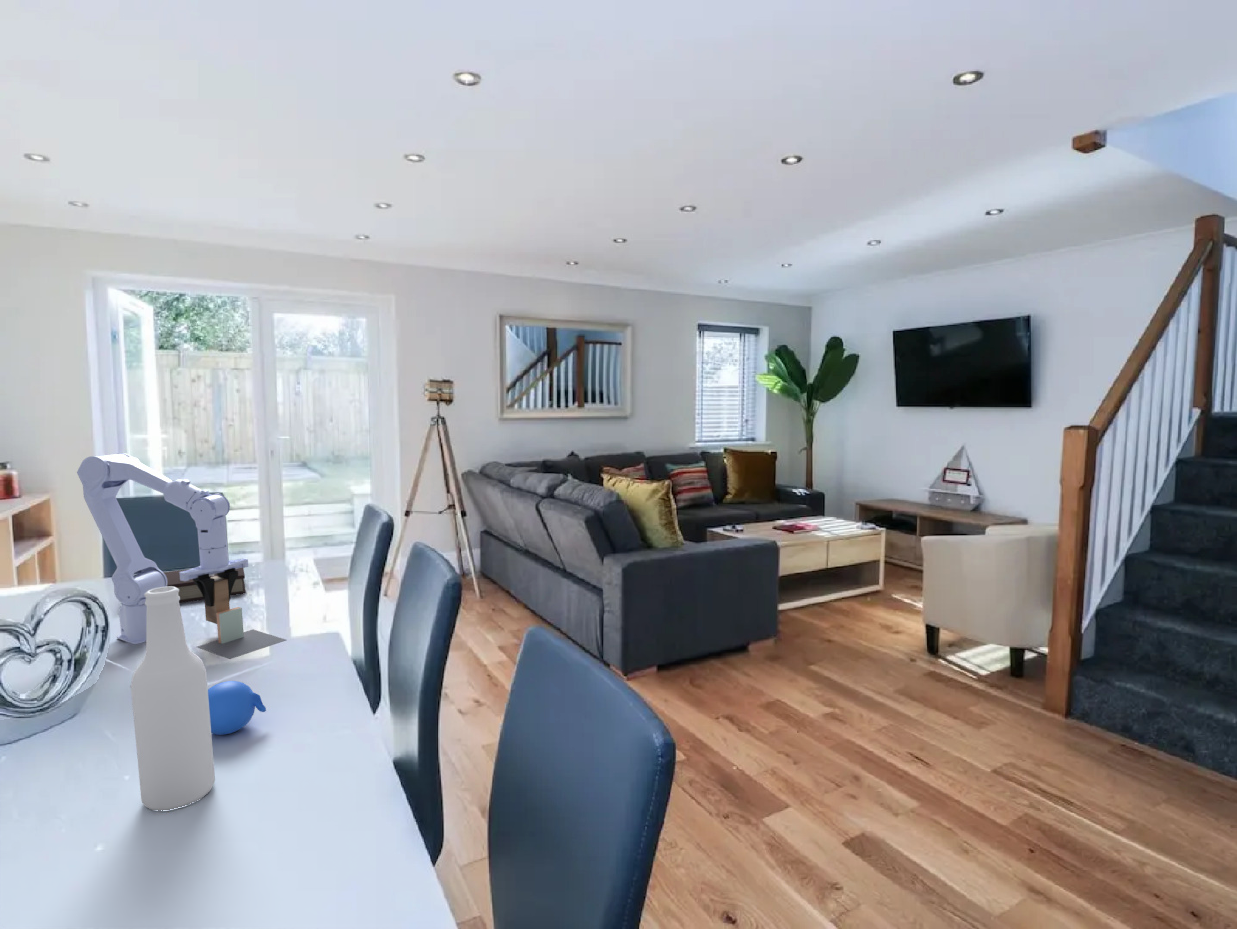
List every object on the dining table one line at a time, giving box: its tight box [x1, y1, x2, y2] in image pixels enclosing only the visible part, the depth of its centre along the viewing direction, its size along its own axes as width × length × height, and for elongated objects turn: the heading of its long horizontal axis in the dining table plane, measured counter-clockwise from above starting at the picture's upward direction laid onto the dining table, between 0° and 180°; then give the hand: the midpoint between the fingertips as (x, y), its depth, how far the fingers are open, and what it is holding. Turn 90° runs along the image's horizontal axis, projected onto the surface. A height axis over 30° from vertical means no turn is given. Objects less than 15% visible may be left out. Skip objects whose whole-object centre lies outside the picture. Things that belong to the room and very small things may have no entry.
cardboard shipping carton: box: [204, 576, 231, 625], centre depth 158 cm, size 5×3×10 cm, turn 58°
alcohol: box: [130, 586, 216, 811], centre depth 94 cm, size 9×9×30 cm
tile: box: [216, 606, 245, 644], centre depth 156 cm, size 2×5×7 cm, turn 148°
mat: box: [196, 629, 287, 660], centre depth 154 cm, size 14×13×1 cm
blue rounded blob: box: [208, 680, 267, 736], centre depth 116 cm, size 12×12×8 cm
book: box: [162, 567, 247, 604], centre depth 196 cm, size 28×20×6 cm
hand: (217, 603), depth 158 cm, fingers closed on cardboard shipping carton, 3 cm apart
